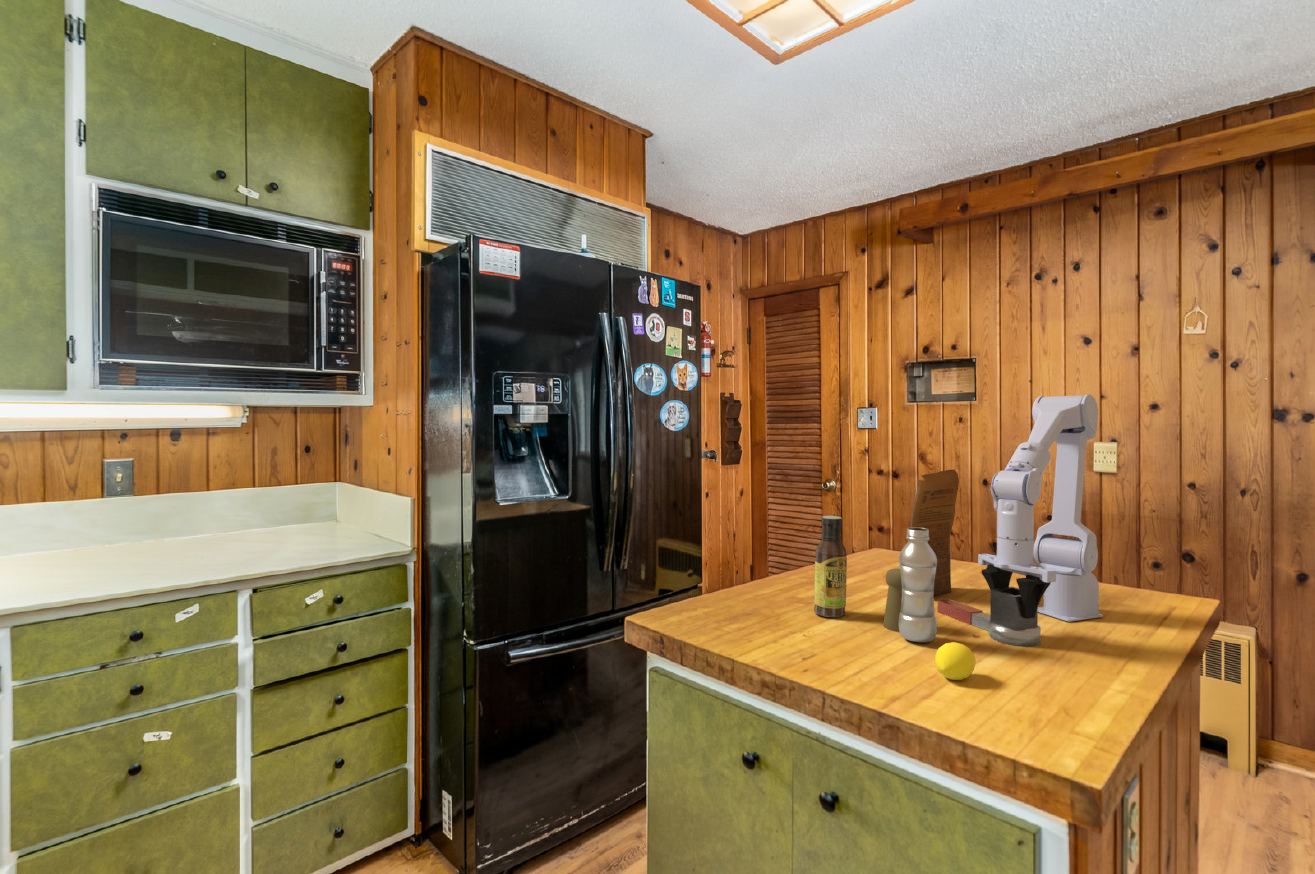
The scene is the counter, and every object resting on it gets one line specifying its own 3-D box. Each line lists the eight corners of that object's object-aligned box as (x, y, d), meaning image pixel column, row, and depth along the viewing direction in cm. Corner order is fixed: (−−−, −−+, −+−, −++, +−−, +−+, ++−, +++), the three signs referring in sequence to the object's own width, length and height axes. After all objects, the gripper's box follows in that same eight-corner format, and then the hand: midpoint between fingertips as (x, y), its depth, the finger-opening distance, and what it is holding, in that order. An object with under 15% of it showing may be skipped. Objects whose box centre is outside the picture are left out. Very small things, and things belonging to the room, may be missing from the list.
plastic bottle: (935, 635, 113) (935, 526, 113) (939, 648, 107) (939, 533, 106) (897, 632, 115) (897, 525, 115) (898, 644, 109) (899, 531, 108)
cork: (920, 633, 115) (920, 574, 114) (885, 631, 116) (885, 572, 116) (913, 622, 121) (913, 566, 120) (880, 620, 122) (880, 565, 122)
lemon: (962, 692, 91) (960, 657, 90) (927, 680, 95) (925, 647, 95) (985, 674, 95) (983, 640, 94) (950, 663, 99) (948, 631, 99)
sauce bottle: (827, 620, 122) (827, 520, 122) (807, 611, 128) (807, 515, 127) (853, 616, 125) (853, 518, 124) (833, 608, 130) (833, 513, 130)
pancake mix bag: (969, 590, 143) (969, 469, 142) (920, 604, 132) (921, 473, 131) (941, 584, 149) (942, 467, 148) (892, 597, 138) (893, 471, 137)
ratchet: (958, 609, 129) (958, 582, 129) (1051, 643, 109) (1051, 612, 109) (927, 613, 126) (927, 586, 126) (1016, 648, 107) (1016, 616, 106)
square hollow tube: (1012, 618, 115) (1012, 586, 115) (1037, 627, 110) (1037, 593, 110) (990, 621, 113) (990, 589, 113) (1015, 630, 108) (1015, 596, 108)
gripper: (965, 532, 117) (965, 603, 117) (1034, 546, 103) (1033, 627, 103) (994, 529, 119) (994, 600, 119) (1065, 543, 105) (1064, 623, 106)
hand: (1014, 612), depth 111 cm, fingers closed on square hollow tube, 5 cm apart
